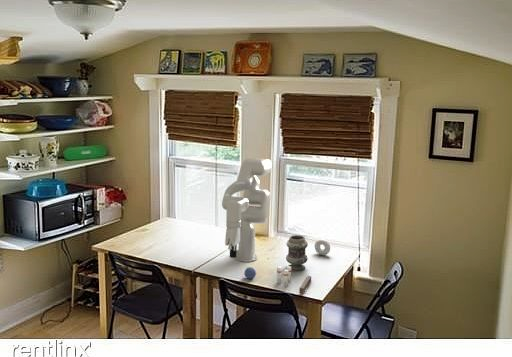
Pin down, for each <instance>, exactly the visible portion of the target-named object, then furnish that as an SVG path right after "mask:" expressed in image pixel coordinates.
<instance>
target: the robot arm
mask: <svg viewBox="0 0 512 357" xmlns="http://www.w3.org/2000/svg"><path fill="white" fill-rule="evenodd" d="M239 168H240V169H239V172H238V176H237V179H236V180H235V181H234V182H232V183H231V184H230V185H228V186H227V188H226V189H225V191H224V194H223V197H222V200H221V206H222V209H224V210H226V219H225V220H226V221H225V222H226V223H225V224H226V230H225V240H224V241H225V243H224V244H225V246H228V250H229V258H231V259H232V258H233V259H236V260H237V261H239V262H242V263H243V262H245V263H250V262H251V263H253V262H255V261H256V260H258V255H257V254H256V253H255V252H256V251H255V250H256V249H255V248H256V229H255V226H254V224H265V223H266V222H267V221H268V216H269V210H270V209H269V208H270V203H271V192H269V191H268V189H262V188H261V189H260V185H261V182H260V179H259V178H258V177H259V176H261V177H265V176H267V175H269V174H270V173H271V172H272V168H273V167H272V162H271V160H270V159H267V158H246V159H244V160H243V161H242V163H241V165H240V167H239ZM242 191H243V194H242V195H243V196H241V197H240V196H233V195H235V194H236V193H238V192H242Z"/></svg>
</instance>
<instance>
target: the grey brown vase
mask: <svg viewBox="0 0 512 357" xmlns="http://www.w3.org/2000/svg"><path fill="white" fill-rule="evenodd" d="M308 244H309V243H308V241H307V240H306V238H305V236H304V235H300V234H294V235H290V236H289V239H288V240H287V241H286V243H285V245H286V247H287V248H288V254H287V255H286V256H285V260H286V262H287V263H289V264H288V266H290V267H291V272H303V271H305V270H306V266H305V265H304V264H306V263H307V261H308V260H309V259H308V256H307V254H306V249H307V247H308Z"/></svg>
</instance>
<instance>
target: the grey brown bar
mask: <svg viewBox="0 0 512 357" xmlns="http://www.w3.org/2000/svg"><path fill="white" fill-rule="evenodd" d="M310 282H311V283H312V275H307V276H306V277H305V279H304V280H303V282H302V284H301V285H300V286H299V290H298V291H299V293H302V294H301V295H304V294H305V292H306V291H305V290H307V289H308V287H309V286H310V284H311V283H310ZM309 283H310V284H309ZM308 285H309V286H308ZM306 288H307V289H306ZM303 293H304V294H303Z"/></svg>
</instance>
